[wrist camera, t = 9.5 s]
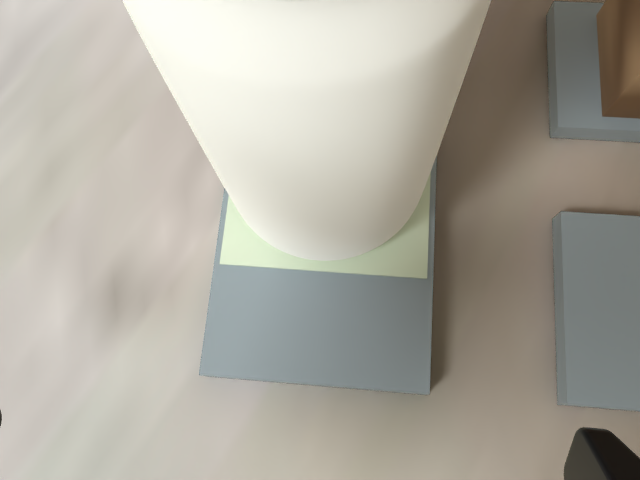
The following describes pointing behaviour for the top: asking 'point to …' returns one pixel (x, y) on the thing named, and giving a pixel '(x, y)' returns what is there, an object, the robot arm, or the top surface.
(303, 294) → the plate
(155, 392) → the top surface
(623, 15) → the walnut cube
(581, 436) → the robot arm
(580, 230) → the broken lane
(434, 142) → the can
